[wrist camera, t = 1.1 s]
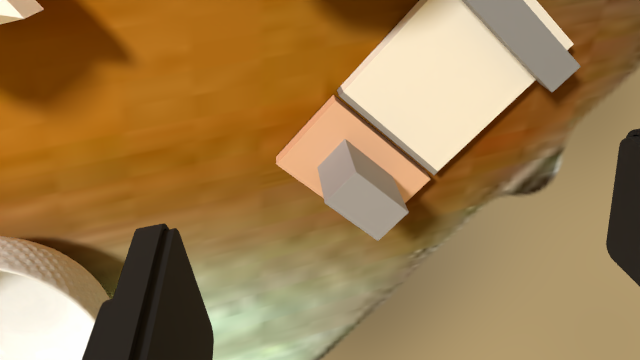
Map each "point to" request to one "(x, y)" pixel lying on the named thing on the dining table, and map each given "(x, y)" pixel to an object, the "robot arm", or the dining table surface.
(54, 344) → the cereal bowl
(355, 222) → the pink base grey block
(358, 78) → the base
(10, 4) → the soft serve ice cream
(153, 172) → the dining table surface
